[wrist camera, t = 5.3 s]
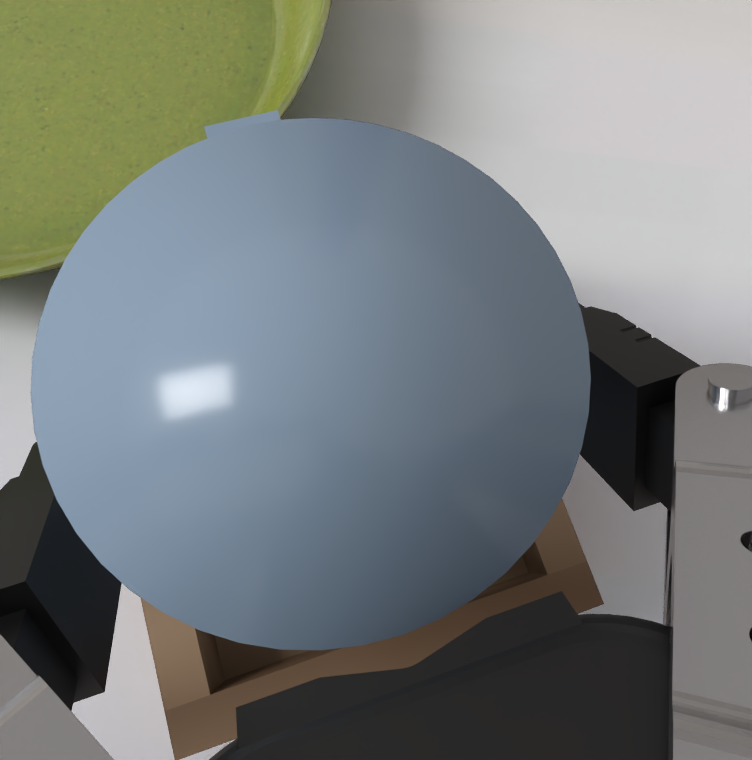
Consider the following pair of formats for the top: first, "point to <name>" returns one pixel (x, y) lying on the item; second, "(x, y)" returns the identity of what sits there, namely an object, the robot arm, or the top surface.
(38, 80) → the saucer
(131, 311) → the pale blue smooth-sided part
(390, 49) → the top surface
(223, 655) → the holder
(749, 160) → the top surface
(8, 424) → the top surface
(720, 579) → the robot arm
